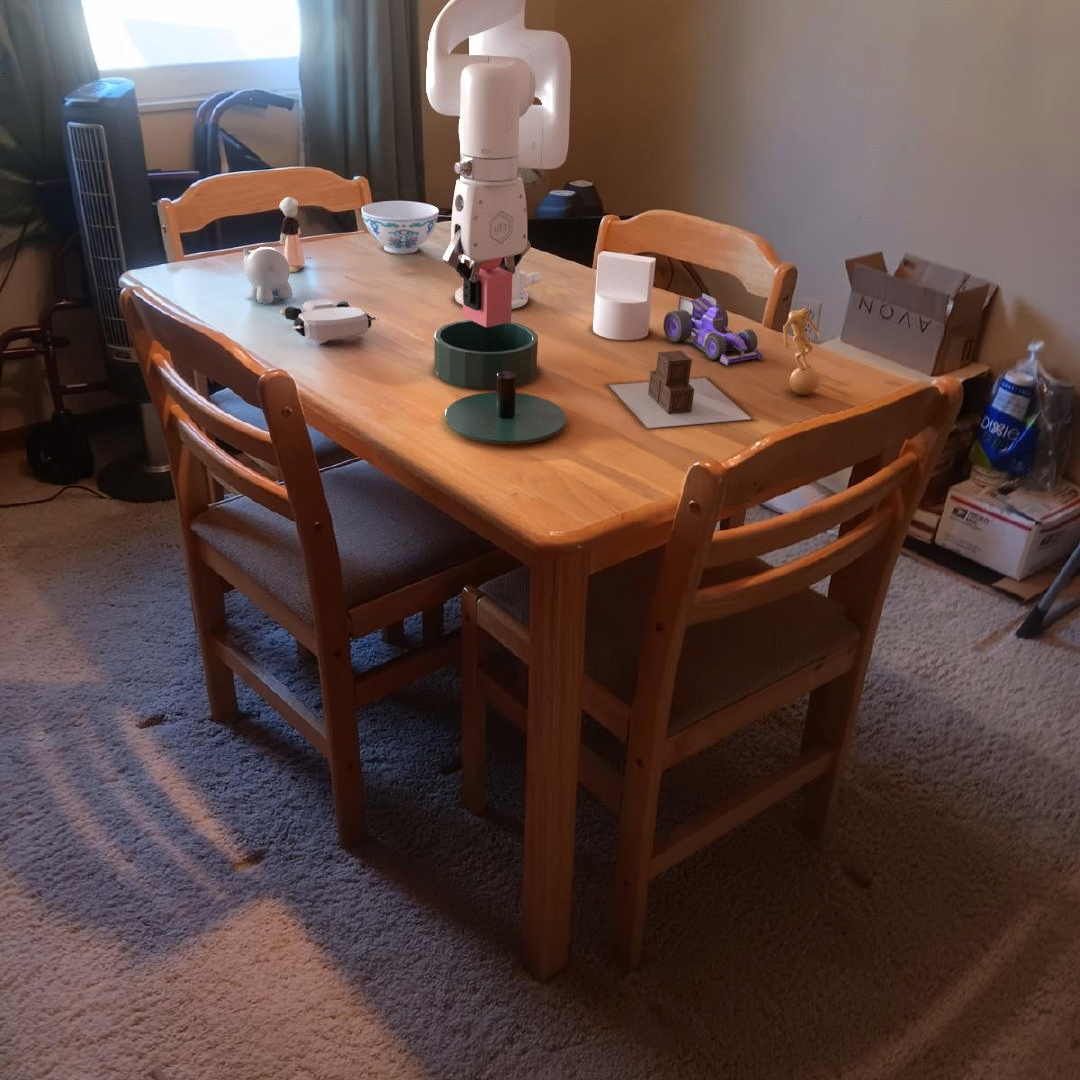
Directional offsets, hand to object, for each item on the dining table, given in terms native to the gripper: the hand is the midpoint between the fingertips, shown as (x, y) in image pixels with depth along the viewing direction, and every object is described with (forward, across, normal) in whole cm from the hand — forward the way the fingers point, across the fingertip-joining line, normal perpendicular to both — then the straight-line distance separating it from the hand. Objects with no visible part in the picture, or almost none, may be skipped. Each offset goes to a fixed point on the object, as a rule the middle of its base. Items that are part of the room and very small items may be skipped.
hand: (487, 303), depth 141 cm
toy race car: (+10, +36, -12) cm, 39 cm away
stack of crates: (+10, +15, -24) cm, 30 cm away
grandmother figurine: (+11, +2, +61) cm, 62 cm away
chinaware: (+11, +26, +62) cm, 68 cm away
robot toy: (+10, -11, +26) cm, 30 cm away
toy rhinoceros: (+11, -10, +49) cm, 51 cm away
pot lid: (+9, -9, -16) cm, 21 cm away
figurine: (+10, +32, -31) cm, 46 cm away
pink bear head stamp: (+2, 0, 0) cm, 2 cm away
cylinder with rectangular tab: (+10, +29, +2) cm, 31 cm away
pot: (+10, 0, 0) cm, 10 cm away
